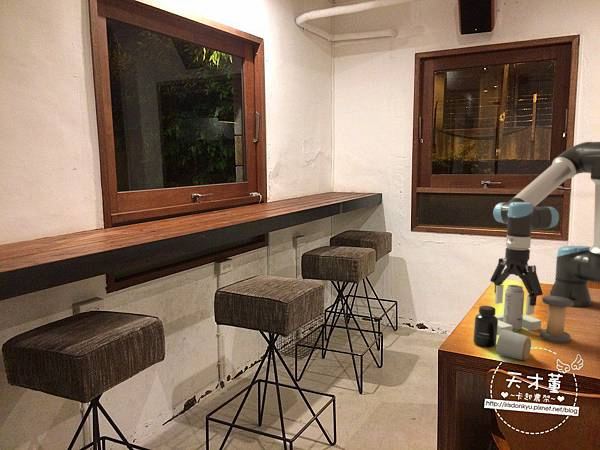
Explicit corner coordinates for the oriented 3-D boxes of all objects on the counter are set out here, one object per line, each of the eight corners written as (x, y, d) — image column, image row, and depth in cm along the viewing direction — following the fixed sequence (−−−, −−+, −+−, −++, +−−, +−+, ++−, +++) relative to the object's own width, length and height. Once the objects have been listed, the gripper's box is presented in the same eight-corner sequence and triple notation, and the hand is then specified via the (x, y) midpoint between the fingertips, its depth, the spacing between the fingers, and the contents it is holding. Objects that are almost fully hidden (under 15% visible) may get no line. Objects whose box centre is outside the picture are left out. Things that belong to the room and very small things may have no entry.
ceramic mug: (524, 364, 142) (526, 339, 141) (495, 357, 147) (497, 332, 146) (533, 353, 150) (535, 329, 149) (505, 347, 155) (507, 323, 154)
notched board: (517, 320, 180) (518, 312, 180) (540, 328, 171) (541, 320, 171) (479, 326, 173) (480, 318, 173) (501, 336, 164) (502, 327, 164)
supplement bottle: (480, 348, 154) (482, 311, 152) (469, 340, 160) (471, 304, 159) (500, 347, 155) (503, 310, 153) (489, 339, 161) (491, 303, 160)
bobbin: (552, 331, 169) (555, 294, 167) (576, 340, 160) (579, 302, 159) (533, 335, 165) (536, 297, 163) (556, 344, 157) (559, 305, 155)
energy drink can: (521, 332, 167) (524, 289, 165) (502, 330, 170) (505, 287, 168) (521, 327, 173) (524, 285, 171) (503, 324, 175) (505, 283, 173)
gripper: (482, 242, 177) (479, 299, 180) (540, 255, 154) (535, 321, 157) (498, 241, 180) (494, 297, 183) (557, 253, 157) (552, 318, 160)
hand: (513, 308), depth 170 cm, fingers open, 13 cm apart
